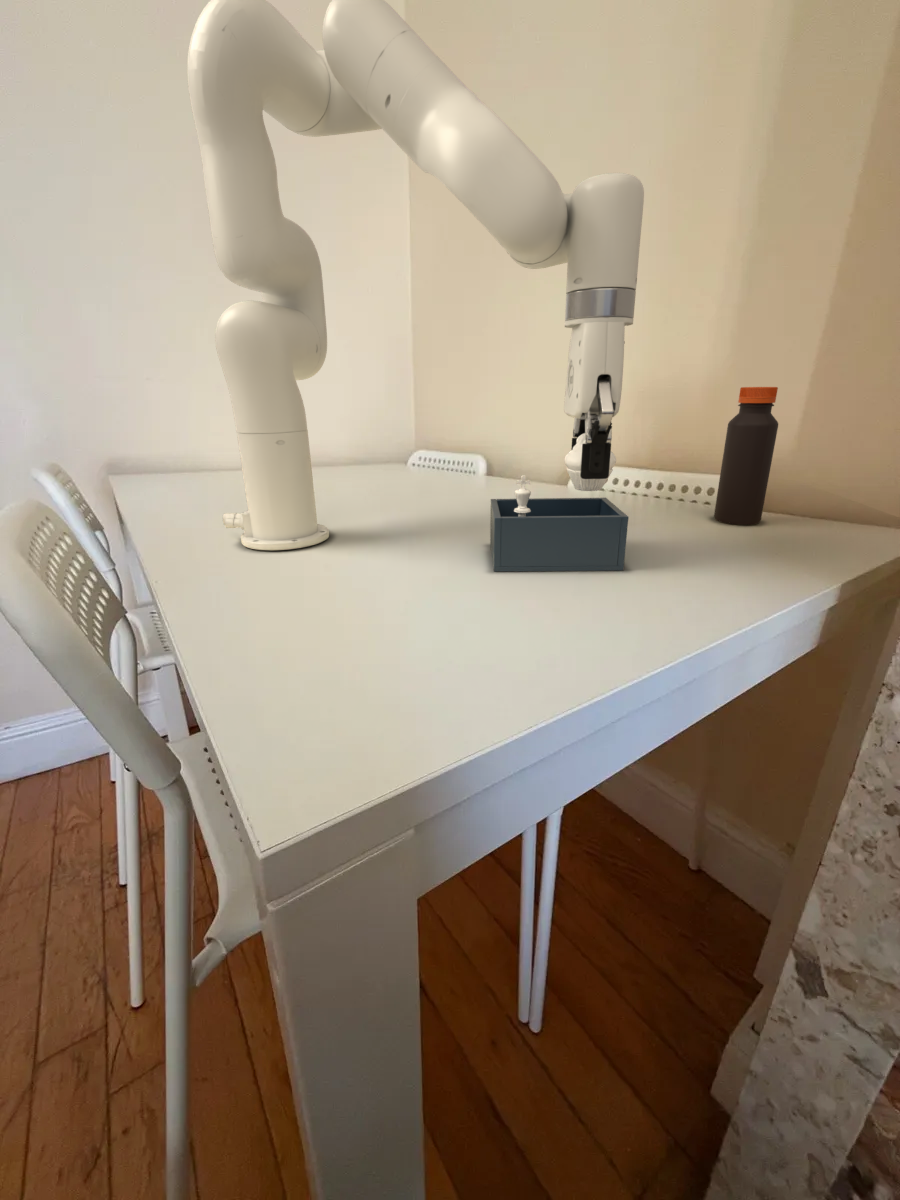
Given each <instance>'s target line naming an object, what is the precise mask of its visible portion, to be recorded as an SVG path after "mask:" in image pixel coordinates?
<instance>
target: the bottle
mask: <svg viewBox="0 0 900 1200" xmlns="http://www.w3.org/2000/svg"><path fill="white" fill-rule="evenodd" d="M778 389H779V388H778V387H777V386H742V387H740V389H739V394H738V401H737V403H739V404H738V405H737V406H738V407H739V410H738V413H737V414H735V416H734V417H733V418H732V419H730V420H729V421H728V424H727V427H726V434H725V440H724V447H723V452H722V453H723V454H722V459H721V460H722V461H721V467H720V474H719V481H718V485H717V486H718V487H717V492H716V499H715V506H714V512H713V513H714V514H713V518H714V520H715V521H717V522H719V523H721V524H722V523H723V524H727V525H735V526H754V525H758V524H760V523H761V520H762V516H763V511H764V505H765V504H764V503H765V499H766V496H767V495H766V494H767V489H768V483H769V478H770V472H771V467H772V461H773V456H774V451H775V445H776V440H777V436H778V435H777V434H778V430H779V422H778V420H777V419H776V418H775V416H774V415H773V414H772V409H773V407H775V404H776V401H777V395H778ZM774 403H775V404H774Z"/></svg>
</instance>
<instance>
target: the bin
mask: <svg viewBox="0 0 900 1200" xmlns="http://www.w3.org/2000/svg"><path fill="white" fill-rule="evenodd" d="M526 506H527V508H530V510H531V512H529V513H526V516H523V517H518V513H516V512H514V509H515V508H518V503H517V499H516V498H491V499H490V524H489V525H490V527H489V528H490V529H489V530H490V531H489V533H490V534H489V535H490V536H489V538H490V539H489V540H490V542H489V546H490V553H491V562H492V567H493V572H584V571H585V572H593V571H595V572H596V571H597V572H598V571H599V572H601V571H602V572H608V571H609V572H611V571H613V572H615V571H624V569H625V558H626V550H627V549H626V547H627V537H628V528H629V517H630V516H628V514H626V513H625V512H623V511H622V510H621V508H619V507H618V506H616V505H615V504H614V503H613V502H612V501H611V500H610V499H608V497H548V498H547V497H541V498H539V497H538V498H529V499H528V503H527V505H526Z"/></svg>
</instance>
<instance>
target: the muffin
mask: <svg viewBox="0 0 900 1200" xmlns="http://www.w3.org/2000/svg"><path fill="white" fill-rule="evenodd" d="M576 442H577V444H576V445H575V446H574V447H573V449H572V450H569V451H568V452H567V454H566V455H565V456H564V464H565V467H566V472H567V474H568V476H569V478H570V481H571V482H572V485H573V488H574V489H575V490H577V491H581V492H597V491H601V490H602V489H603V487H604V486H605V484H606V482H607V481H608V479H609V477H610V476H611V475H612V473H613V472H614V469H613V468H614V467H615V466H616V464H617V457H616V455H615V453H613V452H612V451H611V454H610V466H609V476H608V478H606V479H582V478H581V476H580V474H581V458H582V444H586V443H585V433H584V434H581V435H580V436H579V437H578V438H577V440H576Z"/></svg>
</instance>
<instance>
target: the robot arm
mask: <svg viewBox="0 0 900 1200" xmlns="http://www.w3.org/2000/svg"><path fill="white" fill-rule="evenodd" d="M321 30H322V31H321V37H322V46H323V49H321V50H320V49H319V50H316V49H315V48H314V47H313V46H312V45H311V44H310V43H309V42H308V41H307V39H306V38H305V37H304V36H303V35H302V33H300V31H298V30H297V28H296V27H295V26H294V24H292V23H291V22H290V21H289V20H288V19H287V17H285V16H284V15H283V13H282V12H280V10H278V9H277V8H276V7H275V6H274V5H273V4H272V3H270V2H269V1H268V0H209V1H208V2H207V3H206V5H205V6H204V7H203V8H202V11H201V13H199V16H198V17H197V20H196V22H195V25H194V27H193V30H192V33H191V35H190V40H189V45H188V50H187V61H186V62H187V63H186V73H187V74H186V76H187V88H188V95H189V101H190V107H191V112H192V118H193V122H194V127H195V132H196V136H197V142H198V146H199V147H198V148H199V152H200V159H201V166H202V177H203V184H204V192H205V198H206V203H207V204H206V205H207V211H208V212H207V213H208V219H209V226H210V234H211V241H212V247H213V252H214V257H215V260H216V263H217V267H218V269H219V271H221V273H222V275H223V276H224V277H225V278H226V279H227V280H228V281H229V282H231V283H232V284H234V285H237V286H239V287H241V288H245V289H248V290H251V291H255V292H259V293H261V294H260V295H261V300H262V301H260V300H242V301H238V302H235V303H233V304H231V305H229V306H228V307H227V308H226V309H225V310H224V311H223V312H222V313H221V315H220V316H219V317H218V320H217V322H216V326H215V333H214V343H215V350H216V353H217V357H218V358H217V359H218V360H219V361H218V362H219V364H220V367H221V370H222V373H223V376H224V379H225V382H226V385H227V389H228V395H229V397H230V398H229V399H230V402H231V403H230V404H231V407H232V413H233V419H234V425H235V433H236V437H237V444H238V450H239V452H238V453H239V458H240V464H241V465H240V466H241V471H242V478H243V486H244V492H245V498H246V505H247V510H244V512H242V513H237V512H225V513H223V515H222V523H223V525H224V528H226V529H238V528H241V529H242V530H243V533H242V534H241V535H240V541H241V542H240V543H241V545H243V547H246V548H248V549H251V550H252V549H253V550H256V551H257V550H258V551H287V550H295V549H302V548H307V547H311V546H314V545H318V544H320V543H323V542H324V541H326V540H328V539H329V537H330V531H329V528H328V527H327V526H326V525H324V524H320V523H318V516H317V507H316V506H317V505H316V497H315V487H314V478H313V477H314V476H313V468H312V460H311V449H310V440H309V438H310V437H309V430H308V429H309V428H308V424H307V423H308V422H307V414H306V409H305V403H304V400H303V396H302V394H301V391H300V388H299V386H298V383H297V381H304V380H308V379H310V378H312V377H314V376H315V375H316V374H318V372H320V370H321V369H322V368H323V365H324V364H325V362H326V358H327V353H328V331H327V320H326V319H327V318H326V306H325V295H324V283H323V272H322V265H321V261H320V256H319V253H318V249H317V248H316V245H315V243H314V241H313V239H312V238H311V236H310V235H309V234H308V233H307V231H306V230H305V229H304V228H303V227H302V226H300V225H299V224H298V223H297V222H294V221H293V220H291V219H289V218H288V217H286V216H284V213H283V209H282V205H281V199H280V191H279V186H278V170H277V163H276V158H275V154H274V150H273V147H272V144H271V141H270V137H269V134H268V132H267V129H266V125H265V120H264V115H263V111H264V112H265V113H267V114H268V115H269V116H271V118H273V119H274V120H275V121H277V122H278V123H280V124H281V125H282V126H283V127H285V128H286V129H288V130H289V131H291V132H292V133H295V134H297V135H300V136H303V137H309V138H311V137H312V138H318V137H329V136H338V135H347V134H355V133H363V132H364V133H365V132H372V131H378V130H379V131H380V130H383V132H385V134H387V136H388V137H389V138H391V140H392V141H393V142H394V143H395V144H396V145H397V146H398V147H399V148H400V149H401V150H402V151H403V153H405V154H406V155H407V157H409V159H410V160H411V161H412V162H413V163H414V164H415V165H416V166H417V167H418V168H419V169H420V170H421V171H422V172H423V173H425V174H430V175H431V176H433V177H435V178H436V179H437V180H438V181H439V182H440V183H441V184H442V185H443V186H444V187H445V188H446V189H447V190H448V191H449V192H450V193H451V194H452V195H453V196H454V197H455V198H456V199H457V200H458V202H460V203H461V205H463V206H464V207H465V208H466V210H467V211H469V213H470V214H471V215H472V216H473V217H474V218H475V219H476V220H477V221H478V222H479V223H480V224H481V225H482V226H483V227H484V228H485V230H487V232H488V233H489V234H490V235H491V236H492V237H493V238H494V239H495V241H497V243H498V244H499V245H500V246H501V247H502V248H503V249H504V251H506V253H507V254H508V255H509V257H510V258H511V259H512V260H513V262H515V263H516V264H518V265H519V266H521V267H523V268H525V269H530V270H540V269H541V270H542V269H547V268H551V267H555V266H559V265H562V264H563V265H564V264H567V265H566V266H567V269H566V287H565V288H566V290H565V309H564V310H565V311H564V328H566V329H571V333H570V340H569V346H568V347H569V348H568V356H567V367H566V379H565V388H564V389H565V391H564V401H563V402H564V403H563V412H564V414H566V416H568V417H570V418H574V422H573V428H572V438H571V448H570V449H571V450H572V449H573V447H574V446H575V445H576V444H577V442H576V440H577V438H578V437H579V436H580V435H581V434H584V433H585V443H586V444H582V458H581V474H580V476H581V478H582V479H606V478H608V479H609V477H610V476H609V466H610V454H611V452H612V438H613V437H612V435H613V432H612V431H613V430H612V429H613V423H612V420H613V418H615V416H617V415H618V414H619V411H620V407H621V401H622V400H621V399H622V392H623V391H622V390H623V377H624V360H625V359H624V358H625V343H626V342H625V332H626V331H625V328H626V327H628V326H632V325H634V319H635V306H636V294H637V283H638V271H639V258H640V247H641V235H642V224H643V213H644V202H645V189H644V184H643V183H642V181H641V179H640V178H638V177H637V176H636V175H633V174H630V173H625V172H608V173H607V172H606V173H601V174H597V175H593V176H589V177H588V178H586V179H583V180H581V181H580V182H579V183H578V184H577V185H576V186H575V188H574V189H573V191H572V193H563V190H562V188H561V185H560V184H559V181H558V179H556V177H555V176H554V174H553V172H551V171H550V170H549V169H548V167H547V166H546V165H545V164H544V163H543V162H542V160H541V159H540V158H539V157H538V156H537V155H536V154H535V153H534V151H532V150H531V149H530V148H529V146H527V144H526V143H525V142H524V141H523V140H522V139H521V138H520V137H519V136H518V135H517V134H516V133H515V132H514V130H512V129H511V127H510V126H509V125H508V124H507V123H506V122H505V121H504V120H503V119H502V118H501V117H500V116H499V115H498V114H497V113H495V112H494V111H493V109H491V108H490V106H488V105H487V104H486V103H484V102H483V101H482V100H481V99H480V98H479V96H478V95H477V94H476V93H475V92H473V90H471V89H470V88H469V87H468V86H467V85H466V84H465V83H464V82H463V81H462V80H461V79H460V78H459V77H458V76H457V75H456V74H455V73H454V72H453V71H452V70H451V69H450V68H449V67H448V65H447V63H445V62H444V61H443V60H442V59H441V58H440V57H439V56H438V55H437V54H436V53H435V52H434V51H433V49H432V48H431V47H430V46H429V45H428V44H427V43H426V42H425V41H424V40H423V38H421V37H420V36H419V35H418V33H417V32H416V31H415V30H414V29H413V28H412V27H411V26H410V25H409V24H408V23H407V22H406V20H405V19H404V18H403V17H402V16H401V15H400V14H399V13H398V12H397V11H396V10H395V9H394V7H392V6H391V5H390V3H388V2H387V1H386V0H330V1H329V4H328V6H327V8H326V11H325V13H324V17H323V21H322V29H321ZM571 450H570V451H571ZM608 476H609V477H608Z"/></svg>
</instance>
